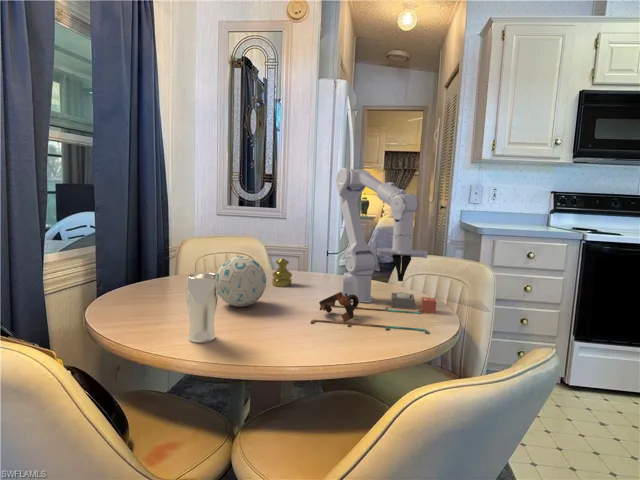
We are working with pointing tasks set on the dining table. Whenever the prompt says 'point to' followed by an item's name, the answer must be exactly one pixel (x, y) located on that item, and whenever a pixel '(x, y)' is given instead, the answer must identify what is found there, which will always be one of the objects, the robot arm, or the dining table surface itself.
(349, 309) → the brown bent frame piece
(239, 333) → the dining table surface
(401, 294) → the dome
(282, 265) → the gold chess piece
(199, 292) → the beer glass
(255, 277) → the puzzle ball
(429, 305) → the die
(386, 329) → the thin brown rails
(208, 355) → the dining table surface
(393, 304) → the box
